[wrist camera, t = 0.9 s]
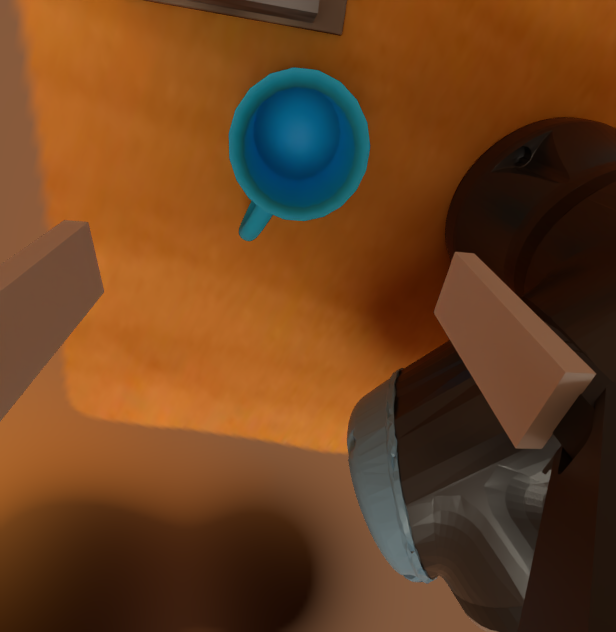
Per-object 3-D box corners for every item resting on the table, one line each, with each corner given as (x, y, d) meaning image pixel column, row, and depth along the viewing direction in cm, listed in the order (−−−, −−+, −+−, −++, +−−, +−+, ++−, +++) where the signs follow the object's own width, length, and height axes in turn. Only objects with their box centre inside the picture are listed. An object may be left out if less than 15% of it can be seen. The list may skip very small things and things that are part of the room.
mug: (276, 40, 25) (272, 29, 18) (371, 113, 28) (399, 127, 21) (204, 193, 30) (180, 229, 24) (289, 242, 33) (290, 287, 26)
